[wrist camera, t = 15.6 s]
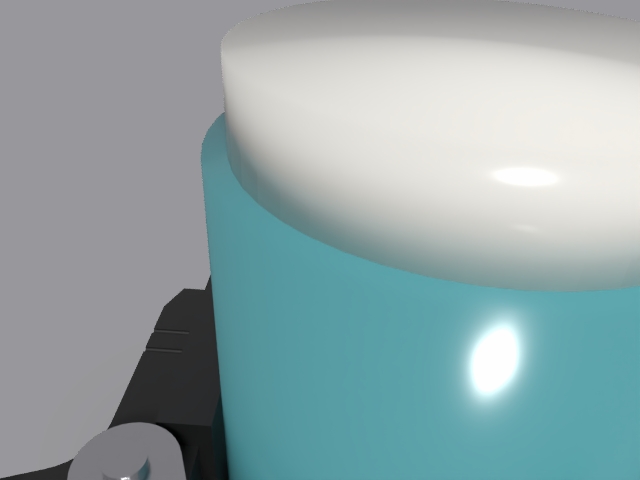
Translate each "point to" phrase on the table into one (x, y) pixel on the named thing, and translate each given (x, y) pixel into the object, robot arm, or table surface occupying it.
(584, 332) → the jar
